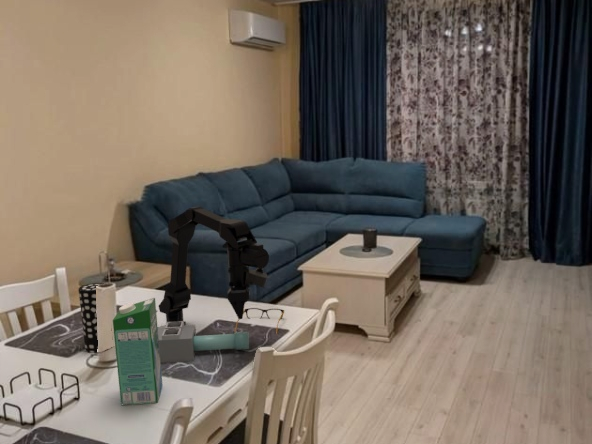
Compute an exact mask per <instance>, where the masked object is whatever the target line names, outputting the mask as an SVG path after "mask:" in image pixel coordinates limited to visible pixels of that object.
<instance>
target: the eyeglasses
mask: <svg viewBox="0 0 592 444" xmlns="http://www.w3.org/2000/svg"><path fill="white" fill-rule="evenodd" d="M249 310H259V311H262V314H261V316H260V318H262V317H263V316H264V313H266V316H267V318H268V319H269V320H270V319H271V317H270V316H269V314H268V311H274V310H277V311H280V312H281V314H280V317H279V319H278V322H277V325H276V332H275V334H276V335H277V334H278V326H279V323H280V321H281V320H282V319H283V317H284V314H285V310H284V309H280V308H269V309H262V308H257V307H250V308H244V311H243V315H244V314H245V315H246V318H247V319H251V318H250V317H249V316H248V312H249ZM239 321H240V319H238V318H237V320H236V324H235V330H234V333H235V332H237V327H238V323H239Z"/></svg>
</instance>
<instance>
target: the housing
mask: <svg viewBox="0 0 592 444" xmlns="http://www.w3.org/2000/svg"><path fill="white" fill-rule="evenodd" d="M178 322H180V327H169V323H170V322H166V325H165V326H157V327H158V338H159V350H160V361H161V364H162V363H163V364H164V363H179V362H181V363H182V362H194V358H195V355H196V351H194V348H193V336H197V328H196V324H185V325H184V322H185V321H184V320H183V321H178ZM172 328H174V329H177V334H171V335H166V330H168V329H172Z"/></svg>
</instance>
